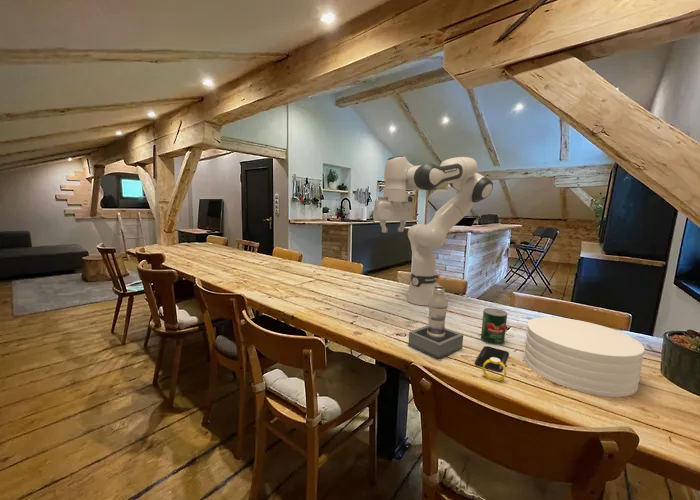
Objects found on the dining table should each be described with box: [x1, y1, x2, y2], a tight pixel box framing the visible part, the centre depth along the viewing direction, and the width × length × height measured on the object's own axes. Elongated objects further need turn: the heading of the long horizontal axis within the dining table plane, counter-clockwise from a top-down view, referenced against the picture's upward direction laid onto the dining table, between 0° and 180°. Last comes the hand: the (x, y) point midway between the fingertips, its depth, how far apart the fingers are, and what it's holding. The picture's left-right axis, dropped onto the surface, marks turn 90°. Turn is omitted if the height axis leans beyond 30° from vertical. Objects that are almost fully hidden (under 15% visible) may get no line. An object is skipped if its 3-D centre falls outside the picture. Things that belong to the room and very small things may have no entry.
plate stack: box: [523, 316, 645, 398], centre depth 95 cm, size 28×28×12 cm
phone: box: [474, 345, 510, 373], centre depth 100 cm, size 8×1×15 cm
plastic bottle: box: [426, 285, 449, 343], centre depth 106 cm, size 6×7×20 cm
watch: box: [482, 357, 507, 382], centre depth 88 cm, size 6×3×6 cm, turn 62°
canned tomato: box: [480, 307, 508, 346], centre depth 113 cm, size 8×8×11 cm
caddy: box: [407, 325, 464, 361], centre depth 107 cm, size 13×12×5 cm
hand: (392, 232), depth 127 cm, fingers open, 8 cm apart
